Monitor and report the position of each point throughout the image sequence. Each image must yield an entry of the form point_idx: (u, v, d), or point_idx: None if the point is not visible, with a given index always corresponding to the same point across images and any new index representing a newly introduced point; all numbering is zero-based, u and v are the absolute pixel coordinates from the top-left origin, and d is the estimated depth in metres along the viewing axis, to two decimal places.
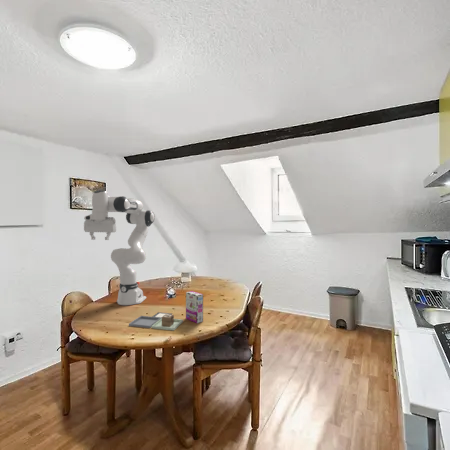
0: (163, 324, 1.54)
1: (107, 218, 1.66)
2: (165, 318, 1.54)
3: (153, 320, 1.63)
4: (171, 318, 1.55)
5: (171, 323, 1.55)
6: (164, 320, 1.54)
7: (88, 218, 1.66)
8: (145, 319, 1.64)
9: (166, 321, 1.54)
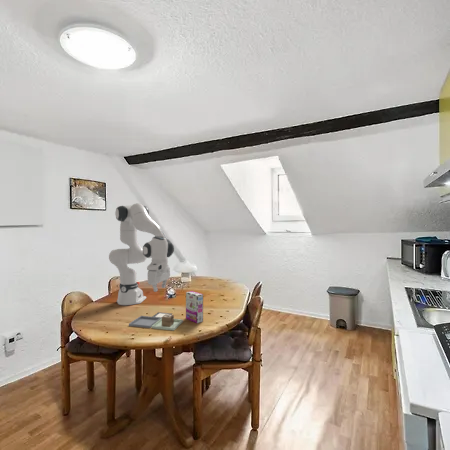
0: (163, 324, 1.54)
1: None
2: (165, 318, 1.54)
3: (153, 320, 1.63)
4: (171, 318, 1.55)
5: (171, 323, 1.55)
6: (164, 320, 1.54)
7: (160, 268, 1.50)
8: (145, 319, 1.64)
9: (166, 321, 1.54)
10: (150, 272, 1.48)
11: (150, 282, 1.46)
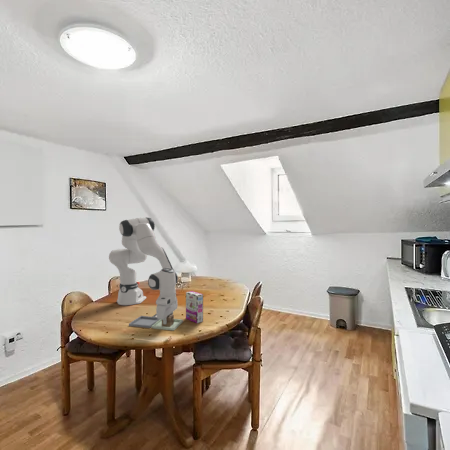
0: (163, 324, 1.54)
1: None
2: None
3: (153, 320, 1.63)
4: (171, 318, 1.55)
5: (171, 323, 1.55)
6: None
7: (169, 302, 1.50)
8: (145, 319, 1.64)
9: None
10: (159, 307, 1.47)
11: (159, 317, 1.46)
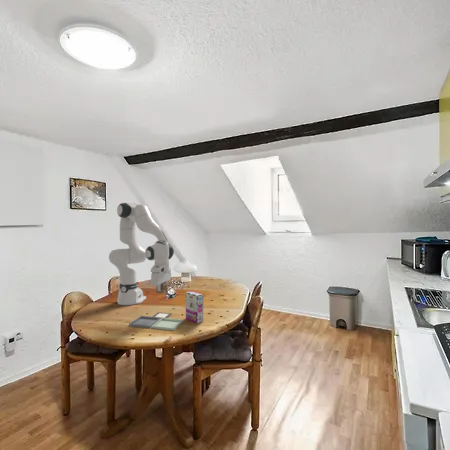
0: (158, 291, 1.69)
1: None
2: None
3: (153, 320, 1.63)
4: (165, 286, 1.70)
5: (165, 290, 1.70)
6: None
7: (162, 270, 1.65)
8: (145, 319, 1.64)
9: None
10: (153, 274, 1.62)
11: (153, 283, 1.61)
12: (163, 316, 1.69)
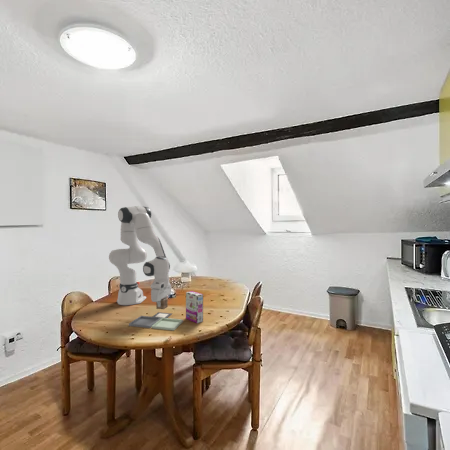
0: (157, 307, 1.69)
1: None
2: None
3: (153, 320, 1.63)
4: (165, 301, 1.70)
5: (165, 306, 1.70)
6: None
7: (162, 286, 1.65)
8: (145, 319, 1.64)
9: None
10: (153, 290, 1.62)
11: (153, 300, 1.61)
12: (163, 316, 1.69)
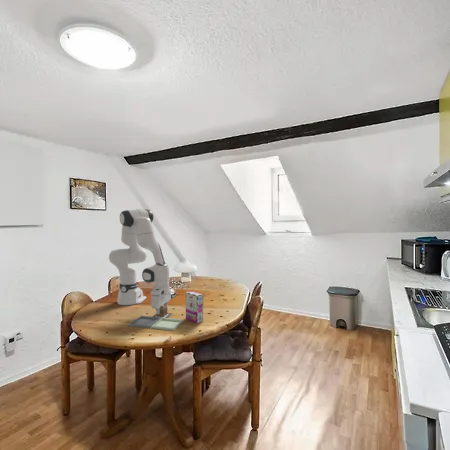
0: (157, 315, 1.69)
1: None
2: (159, 309, 1.69)
3: (153, 320, 1.63)
4: (165, 309, 1.70)
5: (165, 314, 1.70)
6: None
7: (162, 293, 1.65)
8: (145, 319, 1.64)
9: (160, 312, 1.69)
10: (153, 297, 1.62)
11: (153, 306, 1.61)
12: None
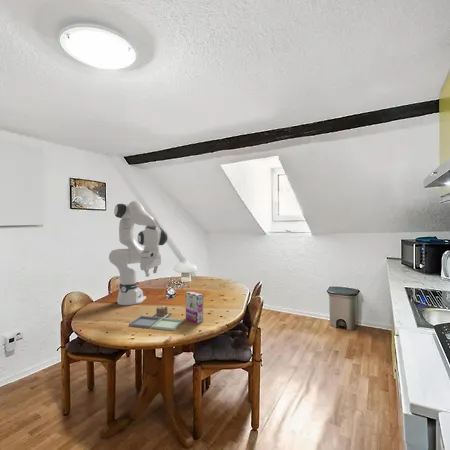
0: (157, 315, 1.69)
1: None
2: (159, 309, 1.69)
3: (153, 320, 1.63)
4: (165, 309, 1.70)
5: (165, 314, 1.70)
6: (158, 311, 1.69)
7: (152, 255, 1.63)
8: (145, 319, 1.64)
9: (160, 312, 1.69)
10: (143, 259, 1.60)
11: (142, 268, 1.60)
12: None
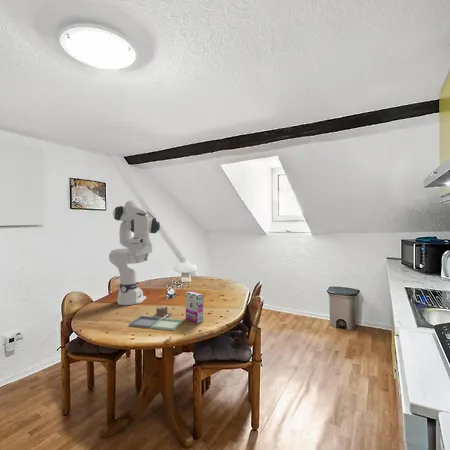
0: (157, 315, 1.69)
1: None
2: (159, 309, 1.69)
3: (153, 320, 1.63)
4: (165, 309, 1.70)
5: (165, 314, 1.70)
6: (158, 311, 1.69)
7: (141, 241, 1.62)
8: (145, 319, 1.64)
9: (160, 312, 1.69)
10: (132, 245, 1.59)
11: (132, 254, 1.58)
12: None
